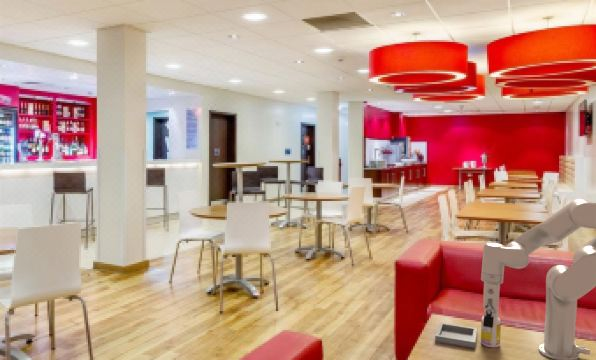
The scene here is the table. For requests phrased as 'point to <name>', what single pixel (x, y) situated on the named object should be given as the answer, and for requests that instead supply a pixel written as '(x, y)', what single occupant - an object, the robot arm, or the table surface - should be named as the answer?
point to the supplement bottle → (491, 332)
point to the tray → (456, 335)
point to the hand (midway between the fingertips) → (488, 322)
